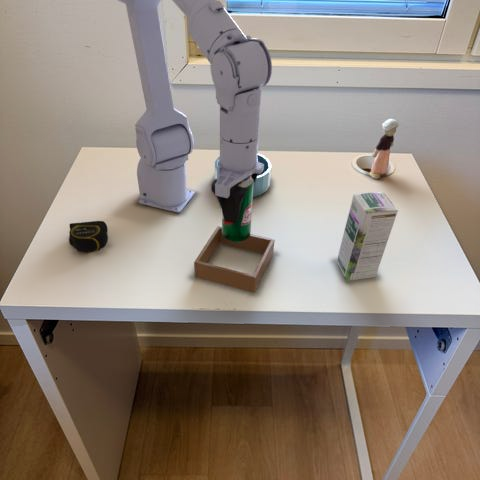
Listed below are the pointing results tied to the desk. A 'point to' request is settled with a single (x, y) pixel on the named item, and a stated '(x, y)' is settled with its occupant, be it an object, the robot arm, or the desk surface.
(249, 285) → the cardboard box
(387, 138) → the grandmother figurine
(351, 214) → the syrup box
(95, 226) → the tape measure
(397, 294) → the desk surface
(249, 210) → the soda can
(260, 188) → the bowl
